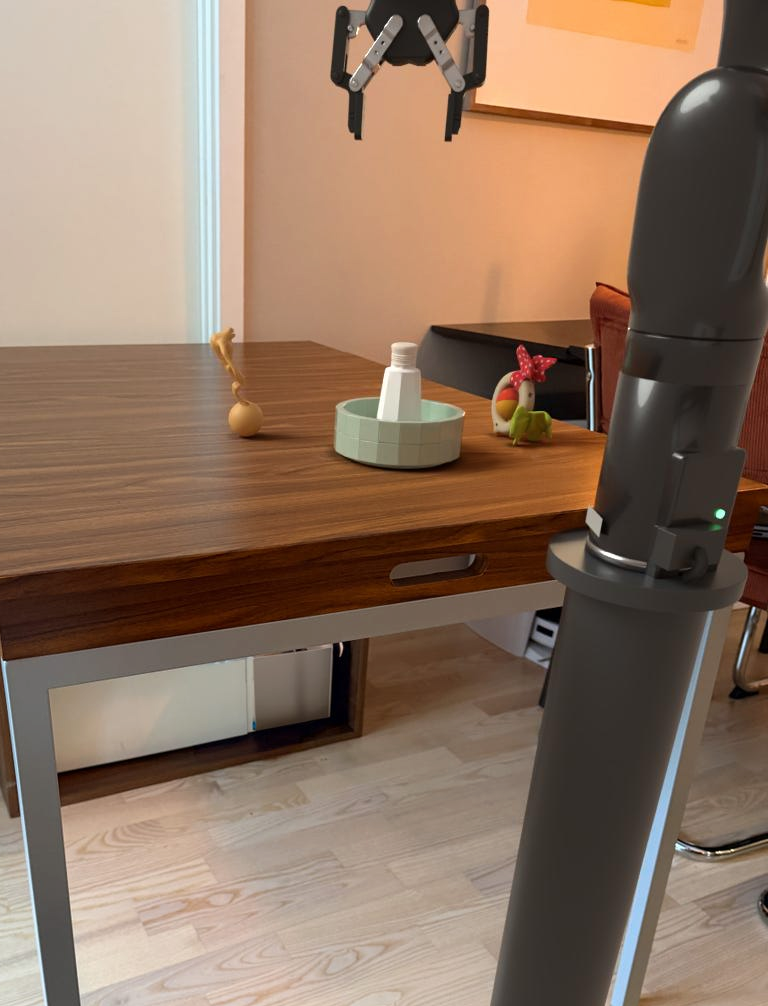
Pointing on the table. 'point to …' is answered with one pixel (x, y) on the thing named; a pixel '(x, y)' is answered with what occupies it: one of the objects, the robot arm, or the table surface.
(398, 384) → the pepper shaker
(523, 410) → the bird rattle
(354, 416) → the bowl
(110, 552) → the table surface
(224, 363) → the figurine
